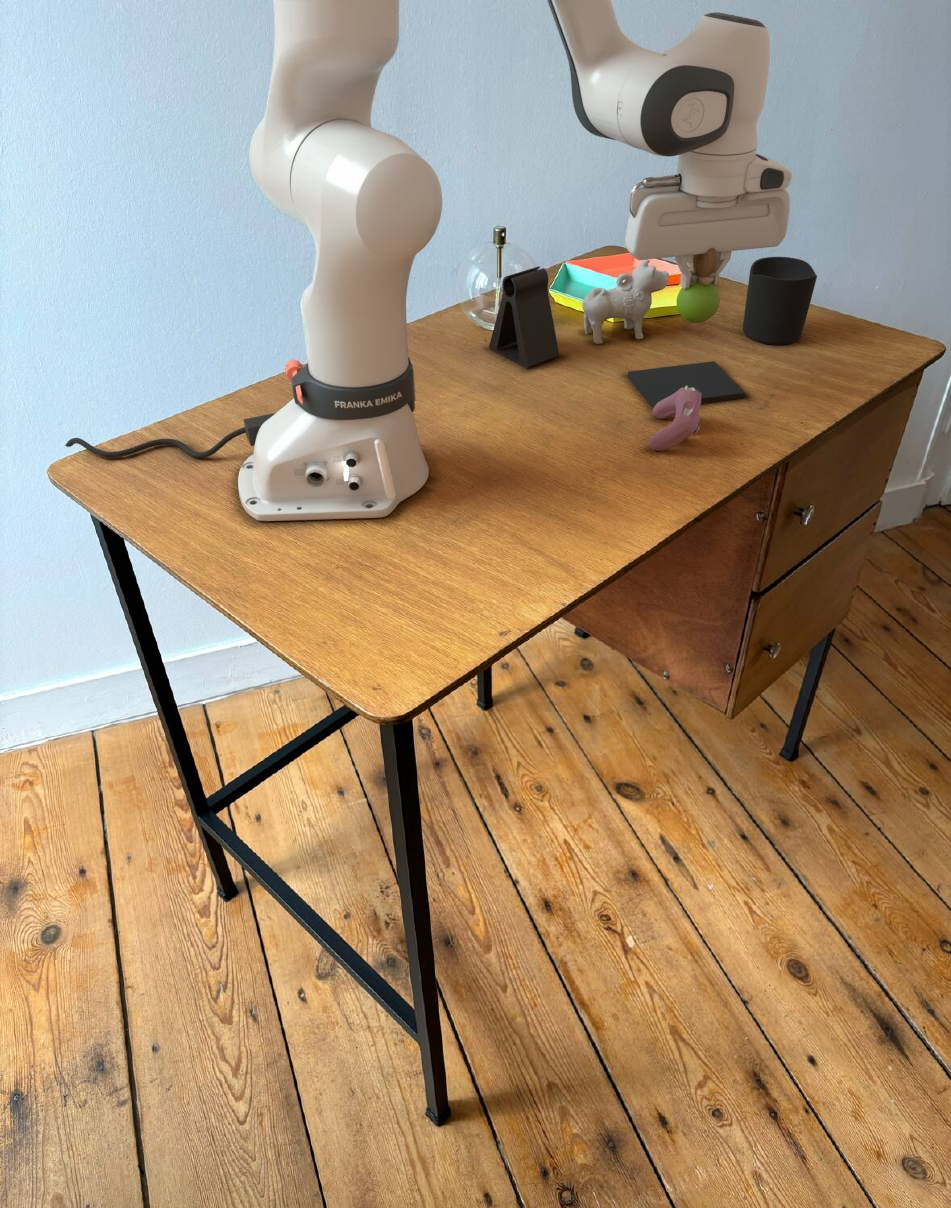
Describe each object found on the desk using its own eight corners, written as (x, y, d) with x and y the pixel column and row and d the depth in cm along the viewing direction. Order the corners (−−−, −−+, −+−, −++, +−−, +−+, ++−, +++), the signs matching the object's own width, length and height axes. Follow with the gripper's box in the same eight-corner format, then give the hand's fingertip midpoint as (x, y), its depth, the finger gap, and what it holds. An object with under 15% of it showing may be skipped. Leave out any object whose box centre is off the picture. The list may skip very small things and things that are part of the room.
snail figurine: (697, 307, 129) (709, 215, 121) (724, 325, 124) (739, 231, 116) (662, 314, 127) (673, 221, 119) (688, 332, 122) (701, 237, 115)
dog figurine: (668, 335, 145) (677, 265, 138) (589, 346, 142) (594, 275, 135) (653, 321, 149) (661, 252, 142) (576, 331, 146) (580, 262, 139)
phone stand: (488, 348, 142) (488, 267, 134) (520, 337, 145) (521, 258, 137) (527, 369, 136) (529, 286, 129) (559, 357, 139) (563, 276, 131)
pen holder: (815, 333, 145) (830, 267, 138) (783, 352, 139) (797, 285, 133) (760, 316, 150) (772, 251, 143) (727, 334, 144) (738, 268, 138)
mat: (653, 409, 127) (654, 404, 126) (627, 376, 134) (627, 371, 134) (744, 397, 129) (745, 392, 128) (713, 366, 136) (714, 361, 136)
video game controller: (676, 466, 118) (709, 423, 114) (644, 448, 118) (676, 404, 113) (679, 427, 126) (710, 385, 121) (649, 410, 125) (679, 368, 121)
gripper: (641, 186, 110) (630, 303, 118) (804, 172, 113) (782, 287, 122) (622, 171, 114) (613, 285, 123) (779, 158, 118) (759, 269, 127)
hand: (698, 286), depth 122 cm, fingers closed on snail figurine
